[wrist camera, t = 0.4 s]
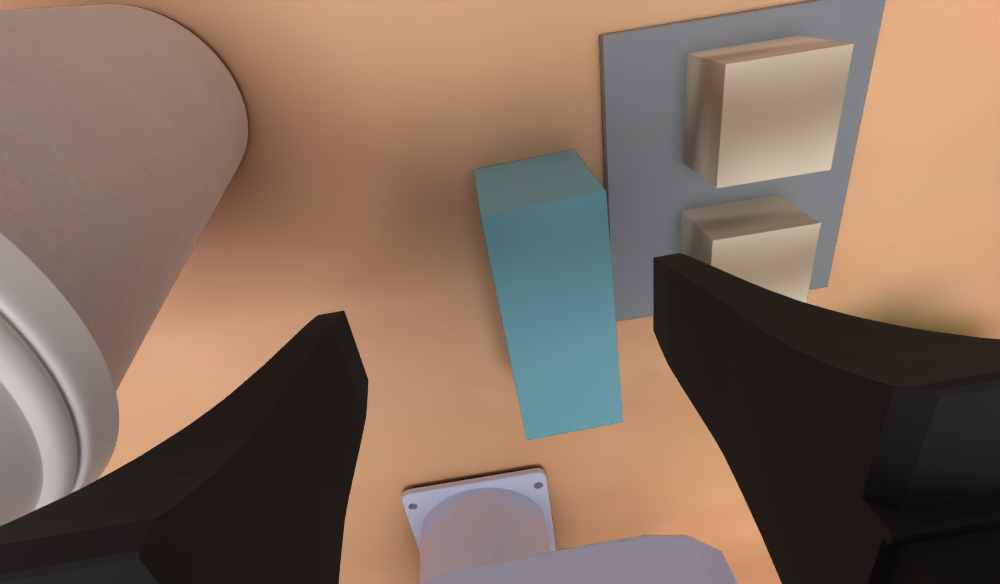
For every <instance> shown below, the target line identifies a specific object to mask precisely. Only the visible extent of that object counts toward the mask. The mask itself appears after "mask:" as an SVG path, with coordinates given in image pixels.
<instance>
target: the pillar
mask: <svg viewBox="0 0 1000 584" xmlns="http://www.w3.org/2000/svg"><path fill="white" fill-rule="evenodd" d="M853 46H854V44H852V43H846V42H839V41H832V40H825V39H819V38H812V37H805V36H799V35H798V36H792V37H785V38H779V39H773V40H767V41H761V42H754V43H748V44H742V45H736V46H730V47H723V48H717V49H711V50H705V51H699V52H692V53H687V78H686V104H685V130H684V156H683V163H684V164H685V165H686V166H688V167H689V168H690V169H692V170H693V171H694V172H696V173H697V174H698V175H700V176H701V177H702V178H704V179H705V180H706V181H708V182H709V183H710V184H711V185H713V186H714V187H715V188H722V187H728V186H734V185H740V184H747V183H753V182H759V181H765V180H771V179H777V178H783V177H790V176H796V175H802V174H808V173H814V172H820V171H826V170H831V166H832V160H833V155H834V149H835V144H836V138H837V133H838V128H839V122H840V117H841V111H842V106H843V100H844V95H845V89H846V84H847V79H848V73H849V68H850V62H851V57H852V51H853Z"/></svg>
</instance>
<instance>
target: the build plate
mask: <svg viewBox="0 0 1000 584" xmlns="http://www.w3.org/2000/svg"><path fill="white" fill-rule="evenodd" d="M885 1H886V0H812V1H806V2H799V3H793V4H787V5H781V6H775V7H768V8H762V9H756V10H750V11H743V12H737V13H731V14H725V15H718V16H712V17H706V18H700V19H694V20H687V21H681V22H675V23H669V24H662V25H656V26H650V27H644V28H638V29H631V30H625V31H619V32H613V33H606V34H600V62H601V88H602V114H603V141H604V167H605V190H606V198H607V212H608V225H609V239H610V252H611V266H612V280H613V293H614V307H615V321H616V322H617V321H623V320H629V319H635V318H641V317H647V316H653V257H659V256H665V255H670V254H676V253H680V233H681V210H687V209H693V208H699V207H705V206H711V205H717V204H723V203H729V202H736V201H742V200H748V199H754V198H760V197H766V196H772V195H778V196H780V197H781V198H783V199H784V200H786V201H787V202H789V203H791V204H792V205H794V206H795V207H797V208H798V209H800V210H801V211H803V212H805V213H806V214H808V215H809V216H811V217H812V218H814V219H816V220H817V221H819V222H820V223H821V226H820V231H819V236H818V242H817V247H816V253H815V258H814V264H813V269H812V275H811V280H810V286H809V290H811V289H817V288H823V287H827V286H828V281H829V276H830V271H831V266H832V261H833V256H834V251H835V246H836V242H837V237H838V232H839V227H840V222H841V217H842V212H843V207H844V202H845V197H846V192H847V188H848V183H849V178H850V173H851V168H852V163H853V158H854V153H855V148H856V143H857V138H858V134H859V129H860V124H861V119H862V114H863V109H864V104H865V99H866V94H867V89H868V84H869V79H870V75H871V70H872V65H873V60H874V55H875V50H876V45H877V40H878V35H879V30H880V25H881V21H882V16H883V11H884V6H885ZM798 35H799V36H805V37H812V38H819V39H825V40H832V41H839V42H846V43H852V44H854V46H853V51H852V57H851V62H850V68H849V73H848V79H847V84H846V89H845V95H844V100H843V106H842V111H841V117H840V122H839V128H838V133H837V138H836V144H835V149H834V155H833V160H832V166H831V170H826V171H820V172H814V173H808V174H802V175H796V176H790V177H783V178H777V179H771V180H765V181H759V182H753V183H747V184H740V185H734V186H728V187H722V188H715V187H714V186H713V185H711V184H710V183H709V182H708V181H706V180H705V179H704V178H702V177H701V176H700V175H698V174H697V173H696V172H694V171H693V170H692V169H690V168H689V167H688V166H686V165H685V164H684V163H683V156H684V130H685V104H686V78H687V53H692V52H699V51H705V50H711V49H717V48H723V47H730V46H736V45H742V44H748V43H754V42H761V41H767V40H773V39H779V38H785V37H792V36H798Z"/></svg>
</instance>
